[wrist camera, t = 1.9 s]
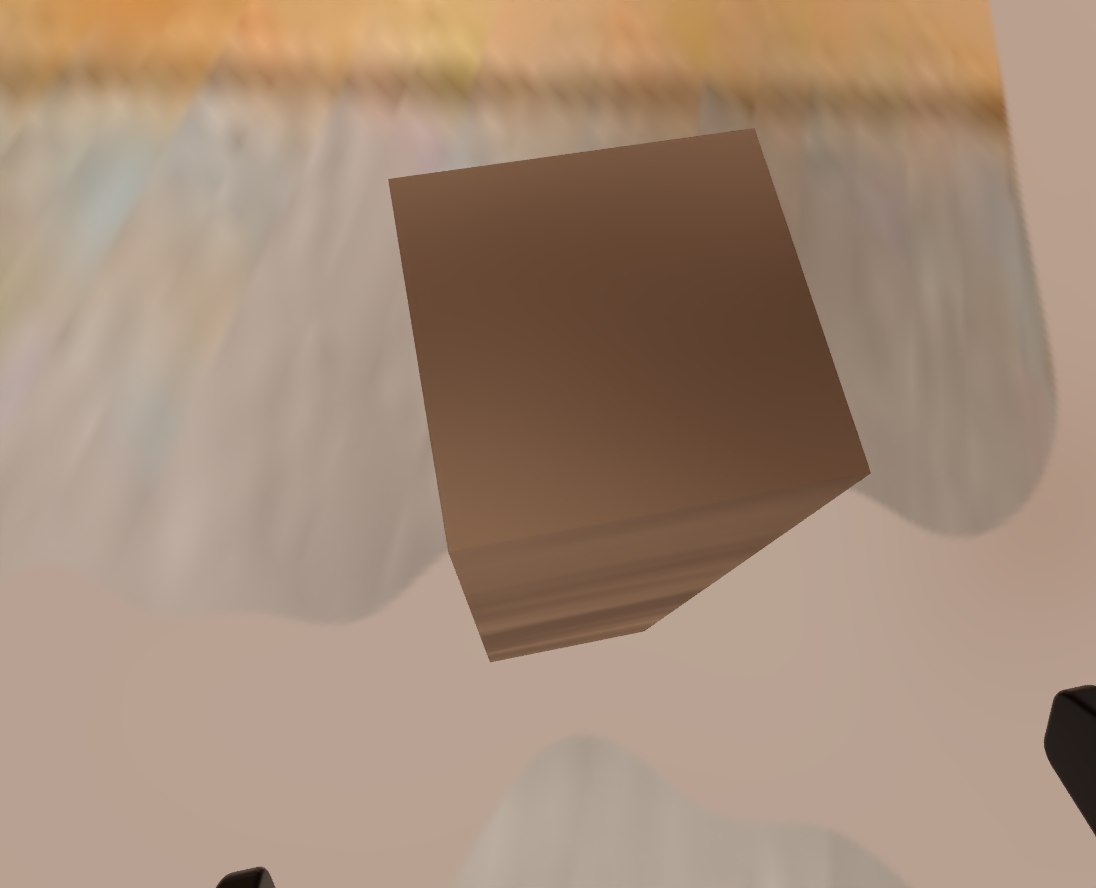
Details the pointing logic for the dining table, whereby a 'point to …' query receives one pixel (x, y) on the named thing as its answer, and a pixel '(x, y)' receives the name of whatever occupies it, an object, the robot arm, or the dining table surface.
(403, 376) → the dining table surface
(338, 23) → the dining table surface
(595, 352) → the walnut baton
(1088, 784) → the robot arm
